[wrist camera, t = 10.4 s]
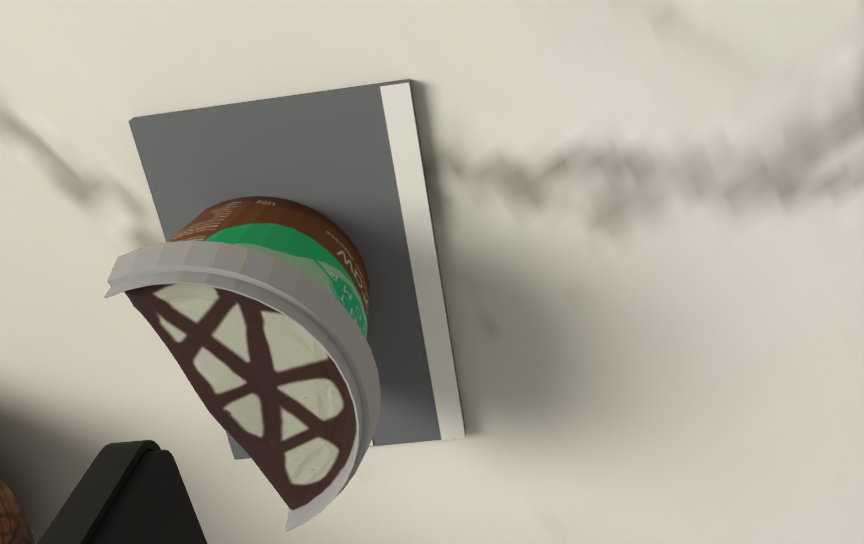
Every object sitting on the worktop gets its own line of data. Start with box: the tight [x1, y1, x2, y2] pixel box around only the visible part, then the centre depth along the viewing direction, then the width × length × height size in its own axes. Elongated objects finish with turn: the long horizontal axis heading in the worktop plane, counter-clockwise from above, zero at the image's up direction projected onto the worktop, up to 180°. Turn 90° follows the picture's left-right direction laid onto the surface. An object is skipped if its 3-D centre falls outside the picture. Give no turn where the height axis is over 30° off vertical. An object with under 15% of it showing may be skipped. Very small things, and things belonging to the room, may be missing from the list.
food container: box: [104, 196, 381, 531], centre depth 33 cm, size 12×6×10 cm, turn 28°
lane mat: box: [129, 79, 465, 459], centre depth 38 cm, size 12×18×1 cm, turn 8°
